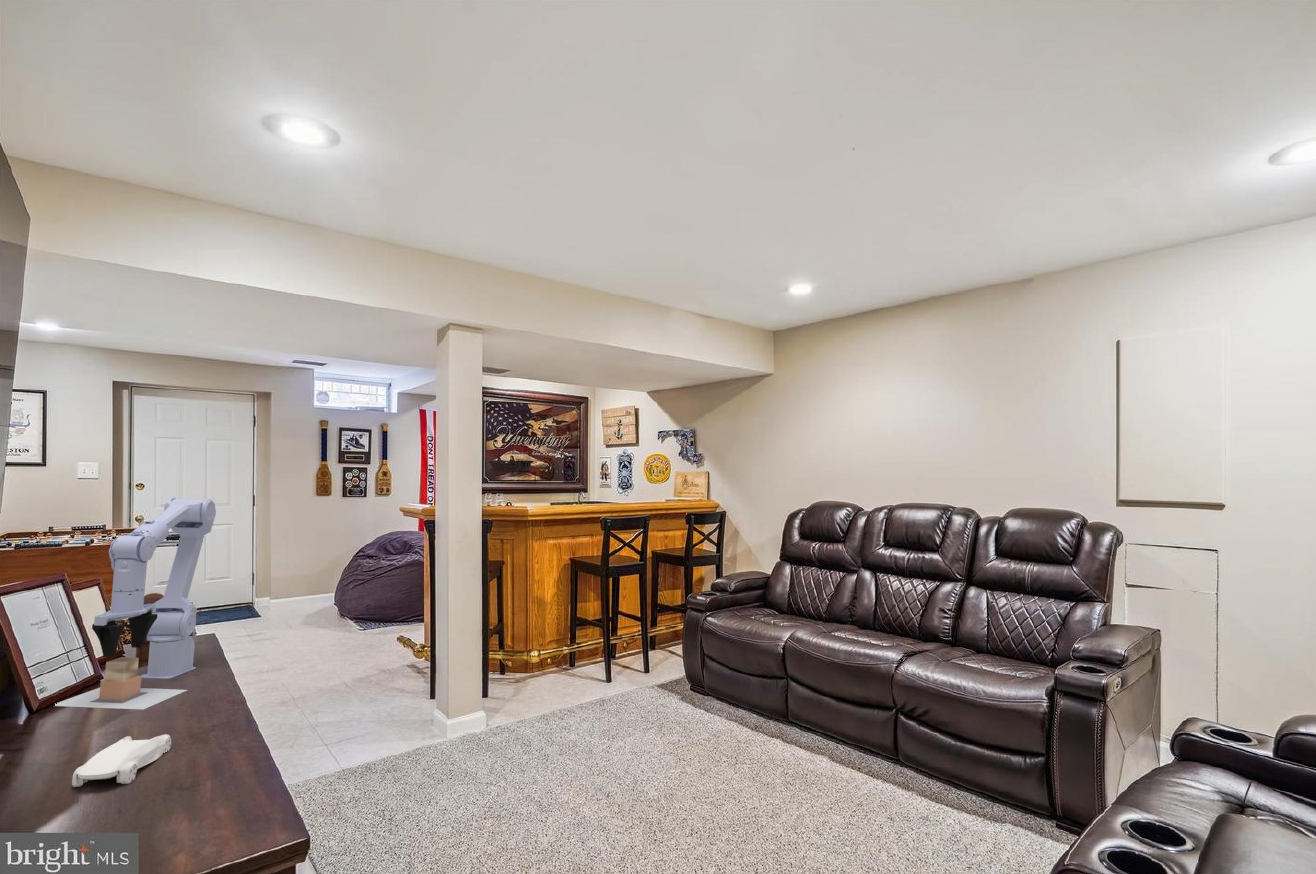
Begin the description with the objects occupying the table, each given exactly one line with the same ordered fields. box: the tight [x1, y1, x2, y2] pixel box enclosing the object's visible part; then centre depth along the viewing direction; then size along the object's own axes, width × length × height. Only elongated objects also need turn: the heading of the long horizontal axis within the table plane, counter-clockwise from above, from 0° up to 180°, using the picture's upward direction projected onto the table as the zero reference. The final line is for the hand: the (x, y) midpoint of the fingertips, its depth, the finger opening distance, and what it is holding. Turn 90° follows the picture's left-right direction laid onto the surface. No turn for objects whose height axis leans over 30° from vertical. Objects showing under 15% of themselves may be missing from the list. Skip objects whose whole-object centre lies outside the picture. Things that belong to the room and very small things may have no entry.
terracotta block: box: [99, 674, 142, 701], centre depth 146 cm, size 5×5×4 cm
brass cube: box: [104, 656, 139, 682], centre depth 147 cm, size 4×4×4 cm
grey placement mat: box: [54, 687, 188, 710], centre depth 146 cm, size 13×20×1 cm, turn 89°
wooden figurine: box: [135, 592, 164, 669], centre depth 175 cm, size 12×6×18 cm, turn 36°
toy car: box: [71, 733, 172, 788], centre depth 114 cm, size 18×8×4 cm, turn 13°
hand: (123, 651), depth 147 cm, fingers open, 7 cm apart
